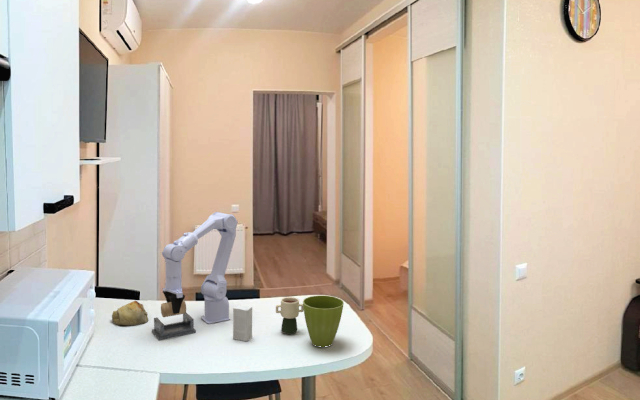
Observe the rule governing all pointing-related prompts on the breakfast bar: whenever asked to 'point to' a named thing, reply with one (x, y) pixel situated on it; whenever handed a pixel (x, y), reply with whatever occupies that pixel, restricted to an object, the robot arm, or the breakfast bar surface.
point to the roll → (167, 309)
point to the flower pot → (322, 318)
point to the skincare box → (242, 322)
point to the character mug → (289, 314)
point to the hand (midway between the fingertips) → (173, 310)
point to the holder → (173, 328)
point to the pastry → (130, 314)
